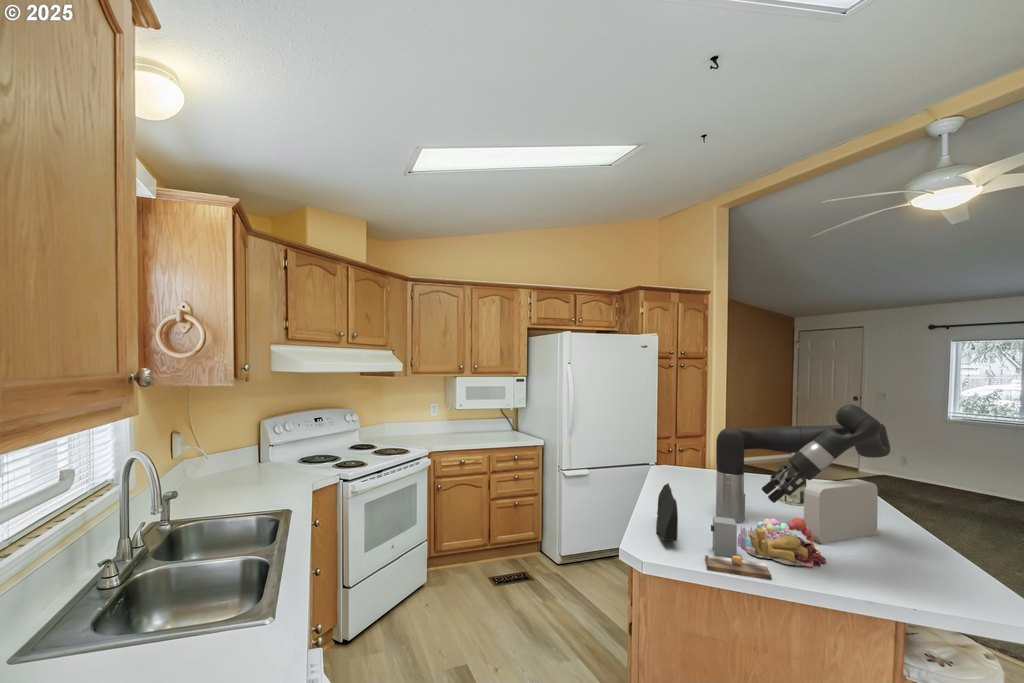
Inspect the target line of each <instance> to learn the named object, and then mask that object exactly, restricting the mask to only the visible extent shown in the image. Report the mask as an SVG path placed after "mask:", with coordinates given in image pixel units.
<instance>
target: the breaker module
mask: <svg viewBox="0 0 1024 683" xmlns="http://www.w3.org/2000/svg"><path fill="white" fill-rule="evenodd" d="M710 532H712V550H713V556H718V557H720V556H721V557H725V558H731V559H733V556H738V554H737V552H738V551H737V547H738V534H737V533H738V523H736V522H735V520H734V519H731V518H723V517H716V515H715V516H714V515H713V516H712V524H710Z"/></svg>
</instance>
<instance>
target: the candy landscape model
mask: <svg viewBox="0 0 1024 683" xmlns="http://www.w3.org/2000/svg"><path fill="white" fill-rule="evenodd" d="M739 530H740V533H739V534H738V535H737V547H739V548H741V550H743V549H744V550H745V551H746V553H749V554H750V555H752V556H754V557H757V558H761V559H762V558H763V559H771V560H773V561H776V562H779V563H781V564H786V565H789V566H790V565H791V566H804V567H811V568H812V567H814V565H816V566H818V567H822V564H821V563H823V564H826V561H827V559H826V558H825V557H824V556H823V555H822V554H821V550H820V548H818V546H817V545H815V541H814V538H813V536H811V530H810V529H809V528H806V523H805V521H804V518H801V517H794V518H793V519H792V520H791V521H788V522H786V523H785V522H780V521H779V520H777V519H776V518H773V517H772V518H765V519H764V520H763V521H758V522H757V524H756V528H754V529H753V526H751V527H750V528H749V529H748V530H747V529H746V527H745V526H744V527H742V525H740V529H739ZM796 531H798V532H801V534H802V535H803V536H804V537H806V536H807V537H806V540H807V541H806V540H804V538H802V537H799V536H798V534H797V533H796Z"/></svg>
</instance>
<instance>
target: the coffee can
mask: <svg viewBox="0 0 1024 683" xmlns="http://www.w3.org/2000/svg"><path fill="white" fill-rule="evenodd" d="M785 465H786V466H787V467H791V466H792V465H791V464H789V465H788V464H782V465H781V464H780V465H778V470H780V469H781V468H782V467H783V466H785ZM778 470H777V471H778ZM802 480H803V481H805V483H804V484H803V485H802V486H801V487H799V488H798V489H797V490H796V491H795V492H793V493H792V494H791V495H790V496H788V495H784V496H782V497H781V498H780V499H779V500H778V501H779V502H780V503H784V504H787V505H790V506H792V505H793V506H804V491H805V488H806V486H807V479H806V478H805V477H803V478H802ZM779 486H780V485H779ZM779 486H777V487H779ZM777 489H778V488H777ZM778 490H779V489H778Z"/></svg>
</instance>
